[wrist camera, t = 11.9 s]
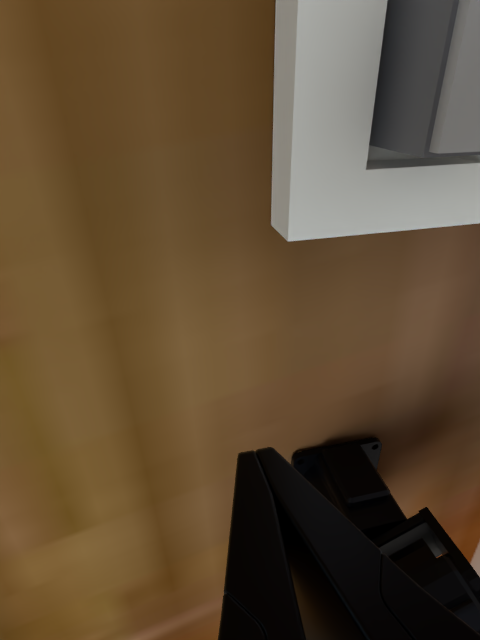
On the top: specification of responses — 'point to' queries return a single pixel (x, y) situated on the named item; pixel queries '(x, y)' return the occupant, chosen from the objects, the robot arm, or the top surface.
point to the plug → (429, 79)
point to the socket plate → (349, 134)
